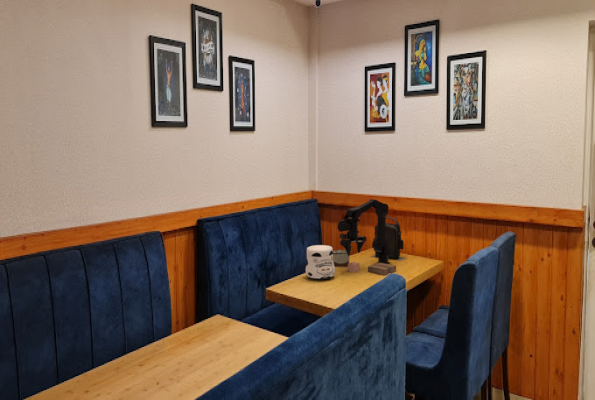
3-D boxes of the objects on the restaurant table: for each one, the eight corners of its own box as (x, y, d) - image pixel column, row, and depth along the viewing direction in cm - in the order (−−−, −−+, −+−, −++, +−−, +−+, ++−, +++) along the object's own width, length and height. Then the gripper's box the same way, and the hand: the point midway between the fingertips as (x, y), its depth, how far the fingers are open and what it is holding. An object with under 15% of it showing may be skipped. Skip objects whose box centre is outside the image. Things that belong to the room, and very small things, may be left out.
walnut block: (380, 268, 293) (380, 262, 293) (395, 272, 284) (395, 265, 284) (368, 272, 285) (367, 266, 285) (383, 276, 276) (383, 269, 276)
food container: (350, 264, 304) (350, 249, 302) (351, 267, 298) (350, 251, 296) (331, 264, 305) (331, 249, 304) (331, 267, 299) (331, 252, 298)
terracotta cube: (353, 269, 292) (353, 261, 291) (359, 271, 288) (359, 263, 288) (348, 271, 289) (347, 263, 288) (354, 272, 285) (354, 264, 284)
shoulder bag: (406, 258, 315) (406, 217, 312) (400, 261, 308) (400, 219, 305) (377, 254, 329) (376, 215, 326) (370, 256, 322) (370, 216, 319)
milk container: (326, 283, 265) (325, 252, 263) (300, 279, 275) (299, 249, 273) (340, 275, 280) (339, 246, 278) (315, 272, 289) (314, 243, 287)
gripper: (353, 225, 297) (353, 249, 299) (333, 230, 285) (333, 255, 287) (366, 227, 289) (367, 252, 291) (346, 232, 277) (347, 258, 279)
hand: (353, 254), depth 287 cm, fingers open, 9 cm apart
